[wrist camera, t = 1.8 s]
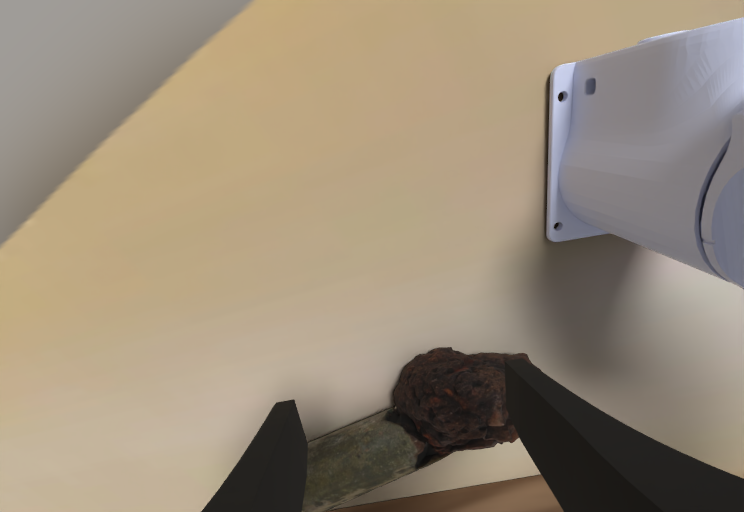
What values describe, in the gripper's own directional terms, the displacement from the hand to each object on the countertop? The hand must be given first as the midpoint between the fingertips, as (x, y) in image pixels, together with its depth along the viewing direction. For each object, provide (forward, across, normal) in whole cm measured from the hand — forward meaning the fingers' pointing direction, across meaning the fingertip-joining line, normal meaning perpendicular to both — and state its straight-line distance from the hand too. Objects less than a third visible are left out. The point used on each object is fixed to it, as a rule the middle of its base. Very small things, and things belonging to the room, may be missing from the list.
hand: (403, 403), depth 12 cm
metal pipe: (+11, -1, +10) cm, 15 cm away
